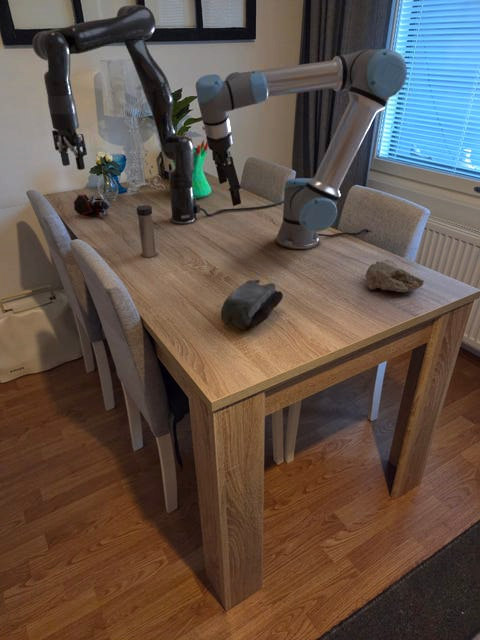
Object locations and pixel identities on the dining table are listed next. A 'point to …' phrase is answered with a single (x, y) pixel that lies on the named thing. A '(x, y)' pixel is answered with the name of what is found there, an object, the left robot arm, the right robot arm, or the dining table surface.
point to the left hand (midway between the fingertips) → (73, 167)
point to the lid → (144, 210)
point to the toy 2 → (199, 172)
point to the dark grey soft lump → (250, 304)
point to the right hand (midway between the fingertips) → (230, 193)
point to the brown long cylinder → (147, 235)
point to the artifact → (391, 277)
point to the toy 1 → (90, 206)
